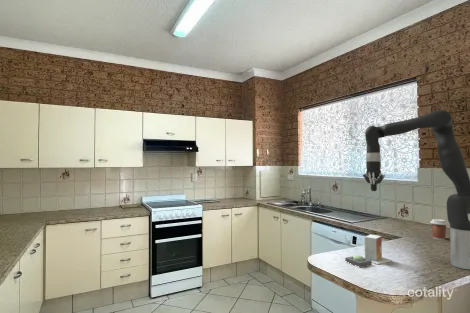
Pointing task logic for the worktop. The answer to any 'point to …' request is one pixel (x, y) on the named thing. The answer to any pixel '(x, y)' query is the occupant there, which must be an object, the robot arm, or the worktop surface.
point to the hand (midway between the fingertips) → (373, 190)
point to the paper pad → (380, 260)
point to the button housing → (359, 263)
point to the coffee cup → (438, 228)
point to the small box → (373, 247)
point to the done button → (358, 258)
